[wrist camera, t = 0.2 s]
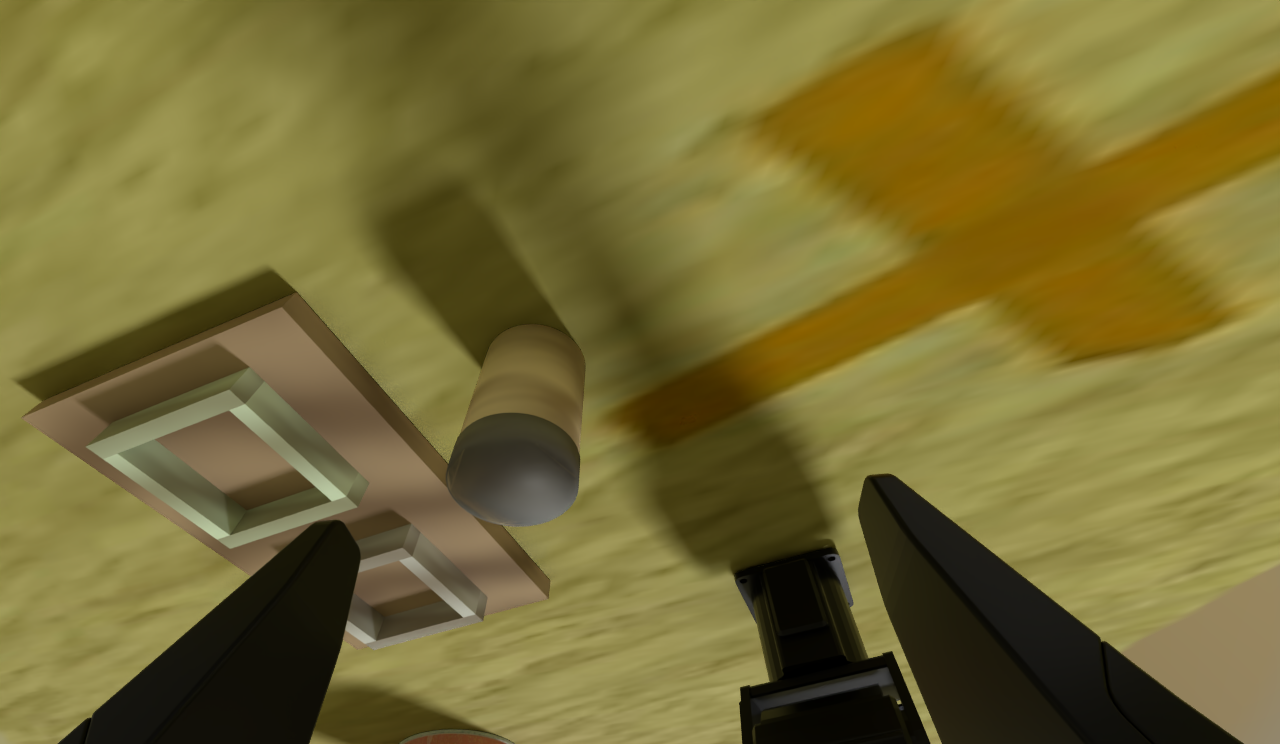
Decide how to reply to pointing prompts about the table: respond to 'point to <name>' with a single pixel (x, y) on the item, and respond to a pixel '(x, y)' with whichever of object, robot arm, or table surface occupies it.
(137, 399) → the board
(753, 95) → the table surface
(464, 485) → the cylinder
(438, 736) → the canned food
